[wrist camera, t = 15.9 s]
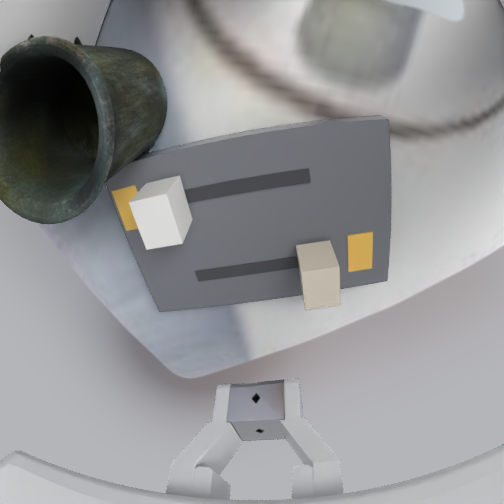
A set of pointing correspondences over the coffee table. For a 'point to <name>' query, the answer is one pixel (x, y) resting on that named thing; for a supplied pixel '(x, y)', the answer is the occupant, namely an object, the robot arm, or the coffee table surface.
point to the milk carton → (50, 20)
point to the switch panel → (266, 210)
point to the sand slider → (319, 275)
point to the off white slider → (162, 213)
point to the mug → (72, 122)
